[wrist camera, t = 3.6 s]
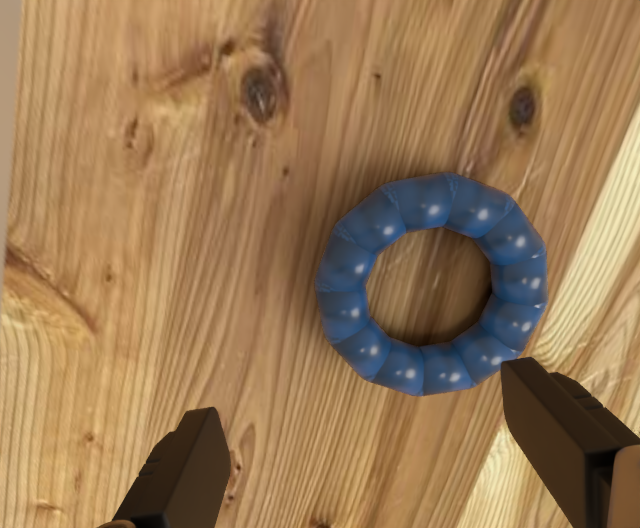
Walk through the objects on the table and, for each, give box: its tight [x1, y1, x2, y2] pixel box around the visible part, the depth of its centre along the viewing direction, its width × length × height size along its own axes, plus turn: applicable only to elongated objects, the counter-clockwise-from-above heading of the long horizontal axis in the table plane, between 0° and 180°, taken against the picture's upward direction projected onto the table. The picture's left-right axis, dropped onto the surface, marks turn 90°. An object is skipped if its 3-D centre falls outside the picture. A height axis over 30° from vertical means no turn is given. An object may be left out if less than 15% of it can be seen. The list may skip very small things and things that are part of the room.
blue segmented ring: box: [314, 172, 548, 396], centre depth 20 cm, size 11×11×2 cm
